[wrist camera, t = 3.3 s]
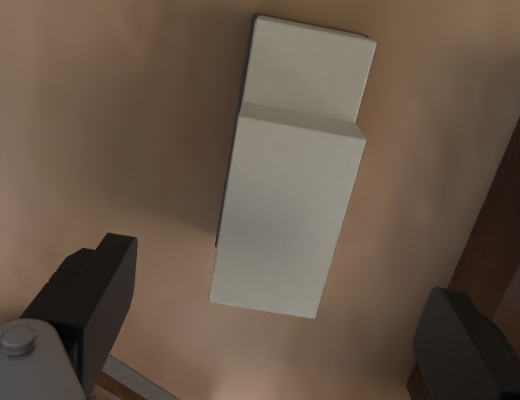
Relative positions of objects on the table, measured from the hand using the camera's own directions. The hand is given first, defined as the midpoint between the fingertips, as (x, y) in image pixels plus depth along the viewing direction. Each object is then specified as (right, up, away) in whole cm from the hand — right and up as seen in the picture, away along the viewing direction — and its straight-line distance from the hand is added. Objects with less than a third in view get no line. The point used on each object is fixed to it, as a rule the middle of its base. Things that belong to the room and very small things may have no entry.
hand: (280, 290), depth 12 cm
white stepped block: (0, +5, +8) cm, 9 cm away
